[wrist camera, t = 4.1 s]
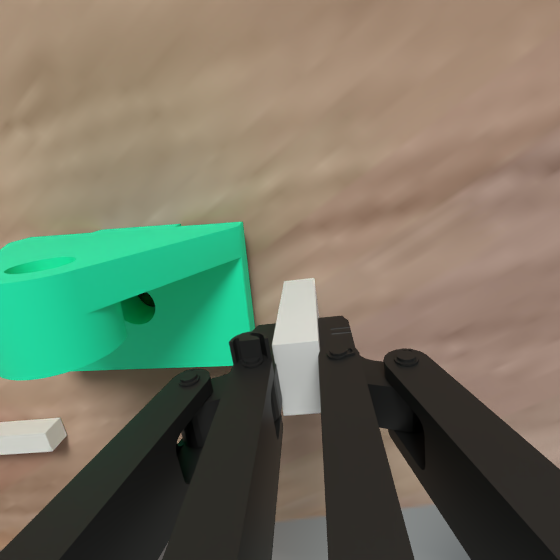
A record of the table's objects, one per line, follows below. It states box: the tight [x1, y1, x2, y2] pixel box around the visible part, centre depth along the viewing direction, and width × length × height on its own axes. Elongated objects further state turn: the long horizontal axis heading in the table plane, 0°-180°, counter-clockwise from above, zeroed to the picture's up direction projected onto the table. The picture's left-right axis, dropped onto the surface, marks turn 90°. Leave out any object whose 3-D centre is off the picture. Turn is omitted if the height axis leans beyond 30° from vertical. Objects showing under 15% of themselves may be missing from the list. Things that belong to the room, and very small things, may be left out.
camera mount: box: [0, 222, 255, 380], centre depth 17 cm, size 12×8×10 cm, turn 95°
